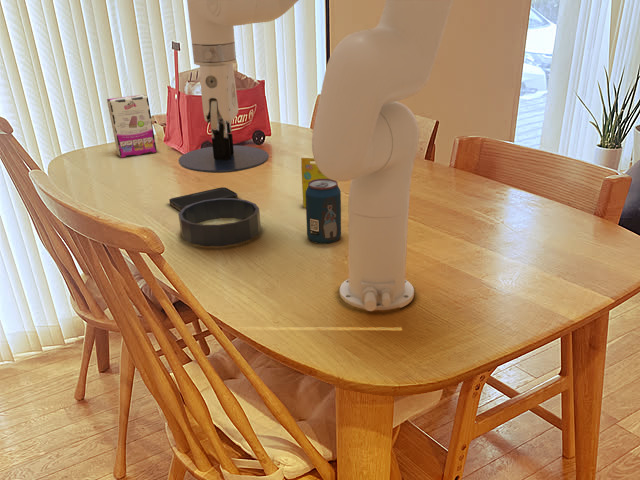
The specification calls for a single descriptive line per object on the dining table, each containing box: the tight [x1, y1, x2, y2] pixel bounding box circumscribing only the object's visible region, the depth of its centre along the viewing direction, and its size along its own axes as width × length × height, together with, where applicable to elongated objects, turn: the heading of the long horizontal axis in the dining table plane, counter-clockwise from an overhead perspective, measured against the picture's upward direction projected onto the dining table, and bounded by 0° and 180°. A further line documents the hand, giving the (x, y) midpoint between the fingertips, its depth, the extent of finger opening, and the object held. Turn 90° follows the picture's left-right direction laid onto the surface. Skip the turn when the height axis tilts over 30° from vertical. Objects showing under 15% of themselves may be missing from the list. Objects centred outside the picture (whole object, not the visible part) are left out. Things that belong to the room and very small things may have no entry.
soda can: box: [305, 179, 342, 245], centre depth 126 cm, size 7×7×12 cm
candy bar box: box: [106, 94, 158, 159], centre depth 187 cm, size 11×5×16 cm, turn 119°
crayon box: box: [300, 157, 329, 209], centre depth 143 cm, size 7×3×12 cm, turn 70°
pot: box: [177, 198, 262, 247], centre depth 132 cm, size 16×16×5 cm
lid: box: [178, 130, 270, 174], centre depth 120 cm, size 17×17×6 cm
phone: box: [169, 186, 239, 212], centre depth 151 cm, size 8×1×15 cm
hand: (224, 156), depth 121 cm, fingers closed on lid, 2 cm apart
